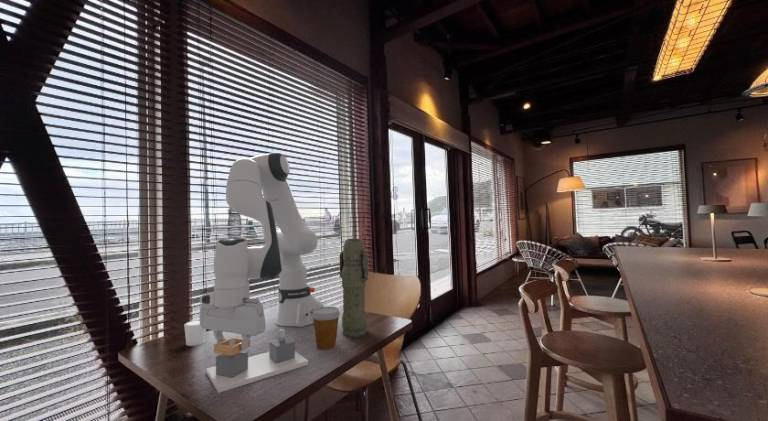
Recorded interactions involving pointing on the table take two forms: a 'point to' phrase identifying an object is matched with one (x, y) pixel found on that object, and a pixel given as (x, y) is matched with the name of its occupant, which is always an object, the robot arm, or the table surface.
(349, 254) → the thermos
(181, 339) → the table surface
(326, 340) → the disposable coffee cup
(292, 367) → the jig plate
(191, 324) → the white cup
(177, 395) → the table surface
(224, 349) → the ring
